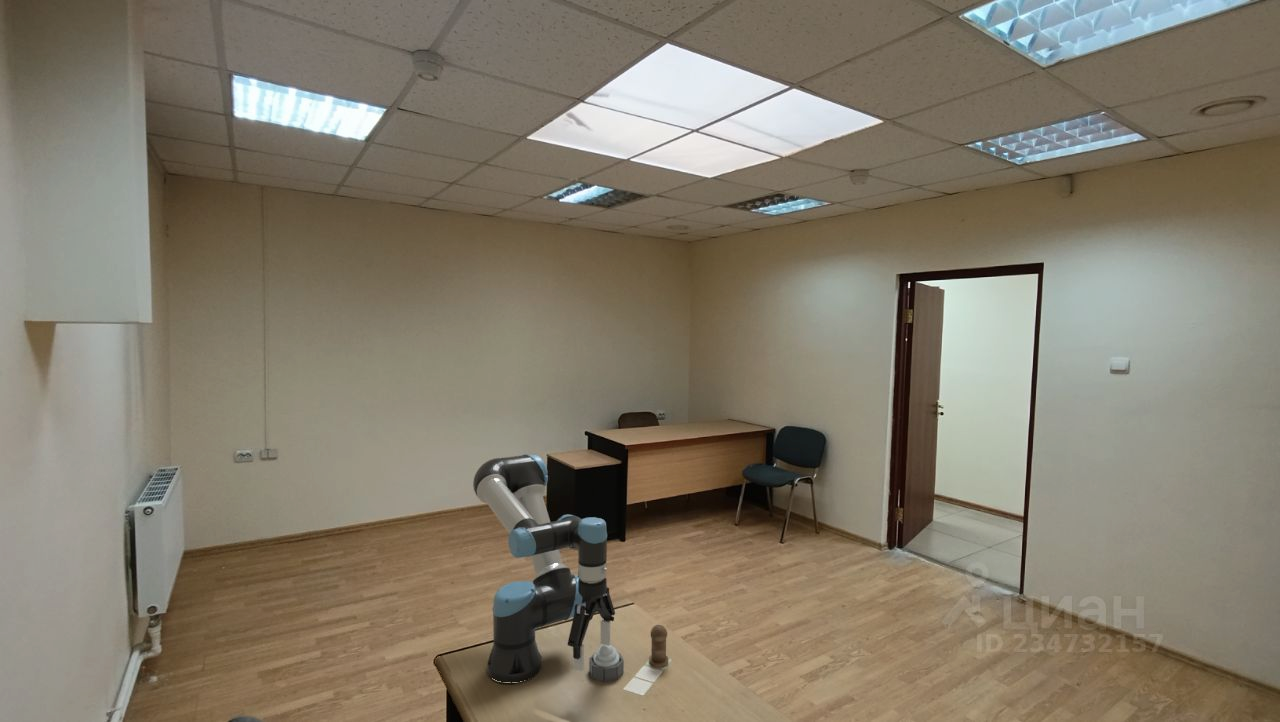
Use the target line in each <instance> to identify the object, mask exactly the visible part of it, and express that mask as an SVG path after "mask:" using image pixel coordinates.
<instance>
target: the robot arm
mask: <svg viewBox="0 0 1280 722" xmlns="http://www.w3.org/2000/svg"><path fill="white" fill-rule="evenodd" d="M548 473H549V472H548V469H547V466H546V463H545V462H544V460H543V459H542V458H541V457H540V456H539V455H537V454H522V455H517V456H516V455H515V456H508V457H507V456H506V457H497V458H492V459H489V460H487V461H486V462H484V463H483V464H481V466H479V468H478V469H477V471H476V472H475V475H474V477H473V481H472V482H473V483H472V484H473V485H472V486H473V491H474V493H475V495H476V497H477V499H478V500H479V501H481V502H482V503H485V504H487V506H488V507H489V508H490V510H491V511H492V512H493V514H494V515H495V516H496V518H497V519H498V521H499V522H500V523H501V524H502V526H503V528H504V529H505V530H506V531H507V533H508V538H507V539H508V540H507V541H508V548H509V550H510V554H511V555H512V557H513V558H516V559H521V558H531V561H532V564H533V569H534V572H535V576H534V577H533V579H532V581H529V580H517V581H511V582H509V583H507V584H505V585H502V586H501V587H500V588H499V589H498V590H497V591H496V592H495V594H494V597H493V605H492V606H493V607H492V614H493V618H492V619H493V623H492V626H493V627H492V629H493V630H492V631H493V645H492V647H491V651H490V653H489V657H488V660H487V665H486V666H487V667H486V670H487V672H488V674H489V676H490V677H491V678H493V679H495V680H497V681H501V682H511V683H512V682H520V681H524V680H527V681H529V680H531V679H533V678H534V677H536V676H537V675H538V674H539V673H540V671H541V669H542V656H541V653H540V652H539V649H538V644H537V640H536V630H537V629H538V628H539V629H540V628H542V627H546V626H549V625H552V624H556V623H559V622H562V621H563V622H564V621H567V620H569V619H571V618H572V622H571V627H570V631H569V635H568V641H567V646H569V647H572V659H573V664H572V665H573V667H572V668H573V669H574V670H576V671H580V672H584V670H585V645H584V644H583V642H584V639H585V636H586V633H587V630H588V627H589V624H590V621H591V620H592V619H593V618H594V615H595V614H596V613H598V614H599V615H600V617H601V618H602V619H601V620H600V644H601V645H607V646H610V645H611V622H614V621H615V617H614V616H615V615H616V611H615V608H614V604H613V601H612V599H611V595H610V587H608V585H607V584H608V582H607V581H608V580H607V571H608V568H607V555H608V553H607V552H608V533H607V532H608V531H607V522H606V521H605V520H604V518H603V519H602V518H600V517H599V518H598V517H595V516H593V517H585V518H580V517H579V516H576V515H573V514H564V515H562V516H560V517H558V519H557V520H556V521H551V519H550V516H549V512H548V510H547V509H548V508H547V507H546V503H545V499H544V496H543V494H544V492H545V491H546V486H547V484H548V481H549V476H548ZM566 548H573V549H575V550H577V553H578V554H577V555H578V565H577V566H578V568H577V570H578V571H577V573H578V574H572V572H571V569H570V567H569V566H567V565H565V564H564V562H563V558H562V555H561V553H560V550H563V549H566ZM487 672H486V673H487ZM488 674H487V675H488ZM535 675H536V676H535ZM489 676H488V677H489ZM532 677H533V678H532ZM530 678H531V679H530ZM528 679H529V680H528ZM524 682H525V681H524Z"/></svg>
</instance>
